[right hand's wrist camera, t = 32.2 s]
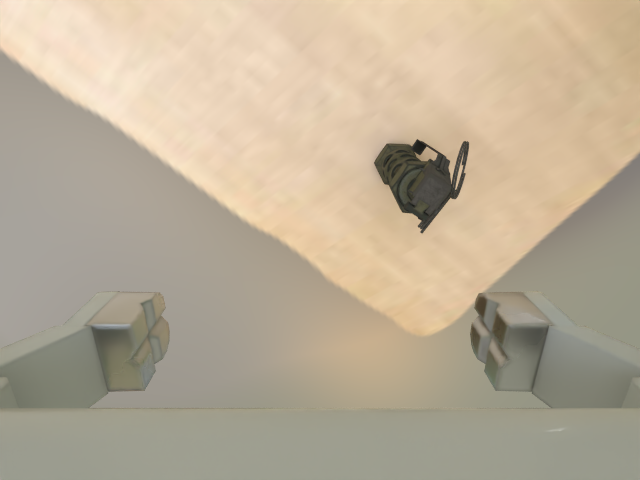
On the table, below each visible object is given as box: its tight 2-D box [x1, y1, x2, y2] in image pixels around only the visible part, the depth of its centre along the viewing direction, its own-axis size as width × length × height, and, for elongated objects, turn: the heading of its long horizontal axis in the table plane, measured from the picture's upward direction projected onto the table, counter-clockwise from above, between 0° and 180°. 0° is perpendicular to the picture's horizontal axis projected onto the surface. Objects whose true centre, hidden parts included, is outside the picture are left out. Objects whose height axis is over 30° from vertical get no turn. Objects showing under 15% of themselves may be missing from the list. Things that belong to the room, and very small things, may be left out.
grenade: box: [374, 139, 469, 233], centre depth 38 cm, size 9×6×15 cm, turn 148°
